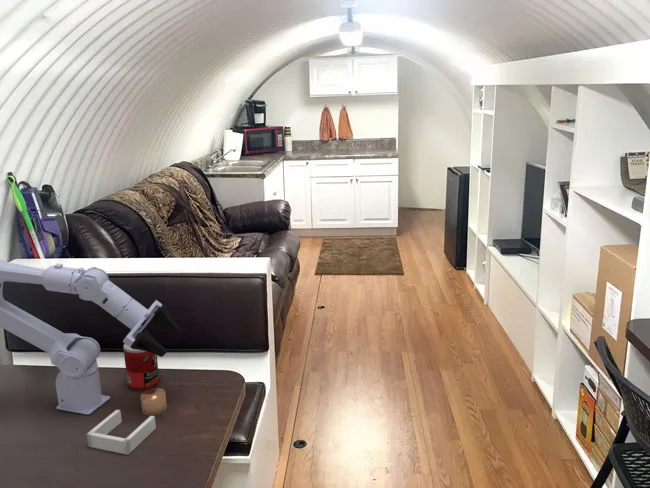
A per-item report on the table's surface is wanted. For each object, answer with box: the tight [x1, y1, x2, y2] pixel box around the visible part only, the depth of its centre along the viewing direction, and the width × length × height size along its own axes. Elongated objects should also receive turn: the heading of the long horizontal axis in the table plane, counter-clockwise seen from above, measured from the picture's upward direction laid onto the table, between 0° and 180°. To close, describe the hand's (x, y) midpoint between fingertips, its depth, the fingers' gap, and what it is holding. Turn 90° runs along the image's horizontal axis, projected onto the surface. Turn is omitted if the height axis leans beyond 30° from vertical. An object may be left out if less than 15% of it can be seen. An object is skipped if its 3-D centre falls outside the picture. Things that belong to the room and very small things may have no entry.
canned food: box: [123, 343, 160, 391], centre depth 145 cm, size 8×8×11 cm
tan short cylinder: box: [140, 387, 168, 416], centre depth 134 cm, size 6×6×4 cm
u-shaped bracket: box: [85, 409, 157, 456], centre depth 123 cm, size 10×10×3 cm
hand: (171, 343), depth 133 cm, fingers open, 7 cm apart
